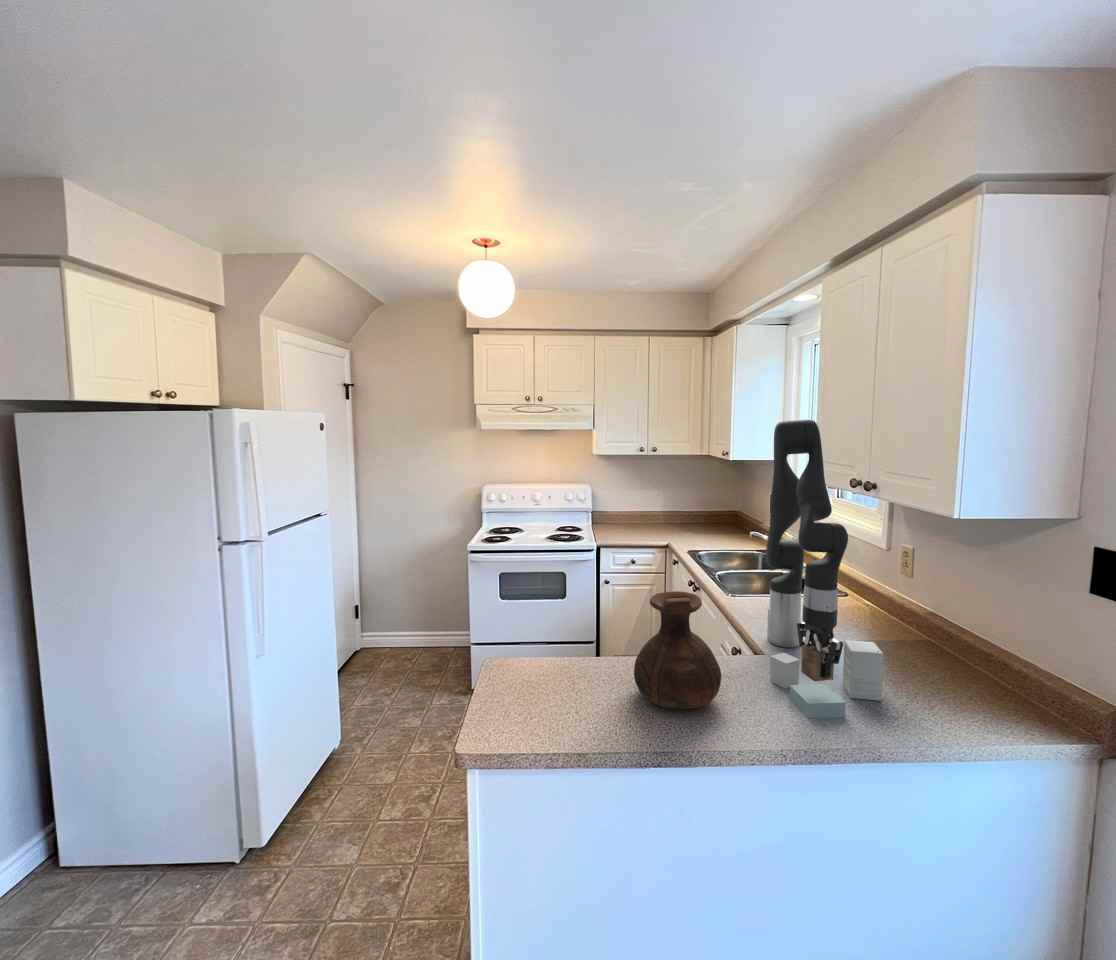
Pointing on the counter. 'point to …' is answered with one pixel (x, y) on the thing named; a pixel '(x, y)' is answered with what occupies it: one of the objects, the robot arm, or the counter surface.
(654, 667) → the brown vase
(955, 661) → the counter surface
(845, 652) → the supplement box
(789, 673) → the grey block
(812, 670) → the walnut block
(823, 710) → the pedestal block
